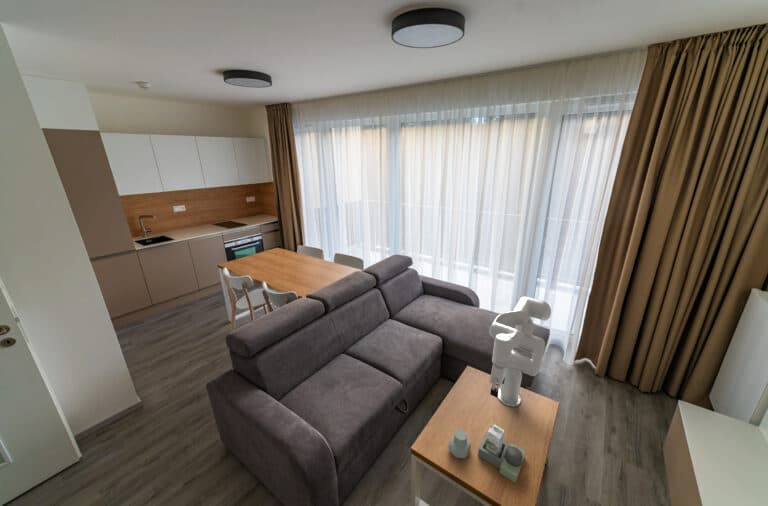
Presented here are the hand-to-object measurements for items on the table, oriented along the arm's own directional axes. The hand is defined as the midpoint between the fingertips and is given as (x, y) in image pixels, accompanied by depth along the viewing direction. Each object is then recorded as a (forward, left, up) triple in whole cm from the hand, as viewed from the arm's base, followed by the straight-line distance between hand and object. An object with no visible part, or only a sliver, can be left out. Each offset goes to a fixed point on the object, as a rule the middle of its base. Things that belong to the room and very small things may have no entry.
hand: (497, 388), depth 135 cm
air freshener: (+18, -9, -29) cm, 35 cm away
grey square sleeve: (+9, +8, -28) cm, 31 cm away
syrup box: (+9, +4, -29) cm, 30 cm away
